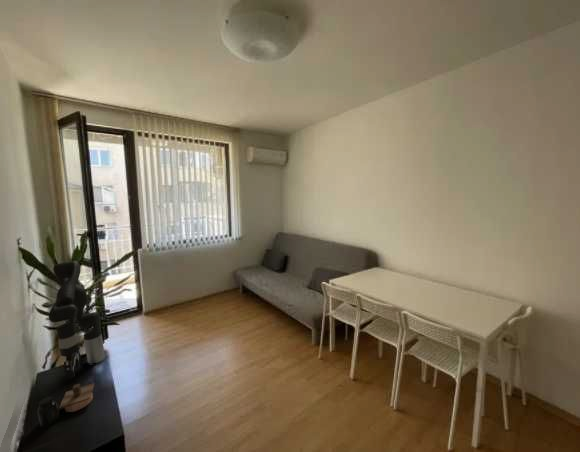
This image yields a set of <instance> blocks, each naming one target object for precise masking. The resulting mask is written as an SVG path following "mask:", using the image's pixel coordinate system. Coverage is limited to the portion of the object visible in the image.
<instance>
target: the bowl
mask: <svg viewBox="0 0 580 452" xmlns="http://www.w3.org/2000/svg"><path fill="white" fill-rule="evenodd" d="M93 395H94V394H93V392H92V393H91V396H90V399H88V400H85V401H82V402H79V403H77V404H74V405H71V406H68V407H65V408H64V410H65V411H66V412H67V413H73V412H76V411H79V410H81V409H83V408H85V407H86V406H88V404H90V403H91V402H92V401H93V397H94V396H93Z"/></svg>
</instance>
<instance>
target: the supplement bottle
mask: <svg viewBox="0 0 580 452" xmlns="http://www.w3.org/2000/svg"><path fill="white" fill-rule="evenodd" d="M37 416H38V421H39V425H40V427H41V428H46V427H49V426H50V425H53V424H54V423H56V422H57V421H58V420H59V418H60V411H59V406H58V403H57V401H55V400H54V397H53V396H47V397H45V398H43V399H41V400H40V401H39V402H38V408H37Z"/></svg>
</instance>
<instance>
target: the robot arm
mask: <svg viewBox="0 0 580 452" xmlns="http://www.w3.org/2000/svg"><path fill="white" fill-rule="evenodd" d="M52 269H53V273H54V276H55V278H56V279H57V281H58V282H59V284H60V287H59V289H58V290H57V293H56V297H55V302H54V304H53V306H52V307H51V309H50V311H49V312H48V320H49V321H50V322H51V323H53V324H54V323H60V322H63V321H67V322H65V323H62V324H60V325H59V326H57V328H56V333H57V339H58V343H57V344H58V348H59V353H60V356H61V357H64V359H65V361H63V366H64V372H65V374H67V375H68V376H67V377H68V379H73V378H75V369H78V368H79V367H80V362H79V361H80V360H79V359H80V356H81V355H80V349H81V346H80V341H79V340H80V339H79V335H78V333H77V327H76V323H77V326H78V327H79V329H81V330H82V329H88V328H92V329H90V330H88V331H87V332H86V331H85V333H84V334H83V340H84V341H83V342H84V346H85V347H84V348H85V353H86V358H87V359H86V360H87V364H88V363H89V364H88V365H93V364H92V363H96V364H98V363H100V362H102V361H103V360H105V358H106V354H105V349H104V348H105V347H104V342H103V334H102V326H101V316H100V313H99V312H98V311H94V312H89V313H85V312H84V309H85V308H86V306H87V304H88V302H89V295H88V293H87V291H86V289H85V288H84V287H83V286H81V285H79V284H78V282H79V278H80V274H81V272H82V271H81V265H80V263H79V261H78V260H71V261H64V262H60V263H56V264H54V266H53V268H52Z"/></svg>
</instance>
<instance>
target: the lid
mask: <svg viewBox="0 0 580 452" xmlns="http://www.w3.org/2000/svg"><path fill="white" fill-rule="evenodd" d="M94 386H95V382H93V383H90V384H86V385H83V386H81V383H78V384H73V386H72V389H71V390H67V391H66V392H65V394H64V396H63V398H62V400H61V402H60V405H59V406H58V410H62V409H65V407H68V406H71V405H74V404H77V403H79V402H82V401H85V400H88V399H90V396H91V393H92V394H93V391H94Z"/></svg>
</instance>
